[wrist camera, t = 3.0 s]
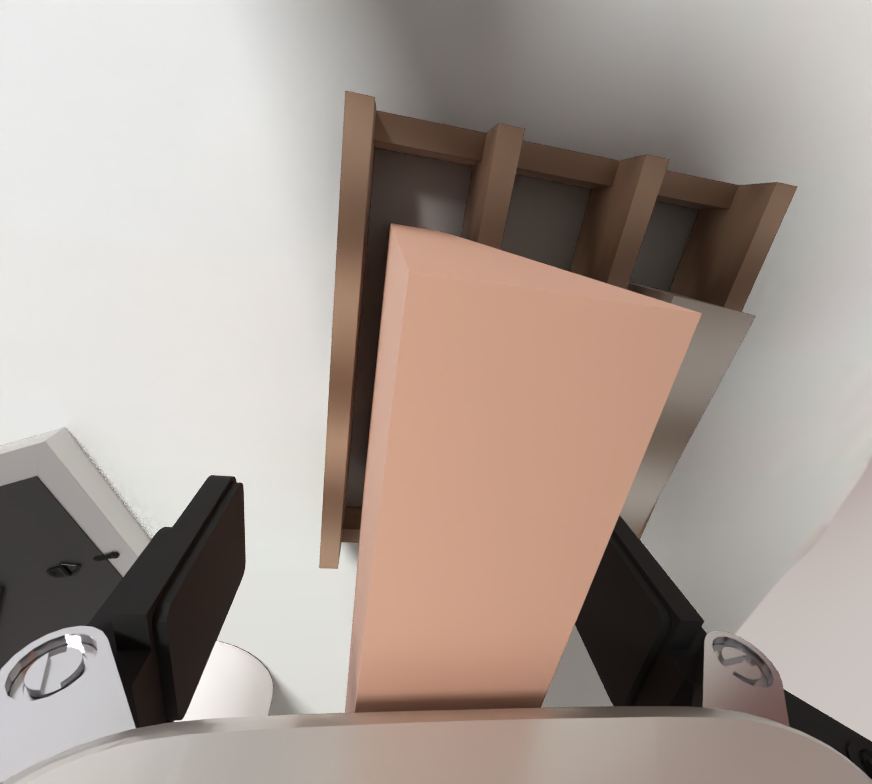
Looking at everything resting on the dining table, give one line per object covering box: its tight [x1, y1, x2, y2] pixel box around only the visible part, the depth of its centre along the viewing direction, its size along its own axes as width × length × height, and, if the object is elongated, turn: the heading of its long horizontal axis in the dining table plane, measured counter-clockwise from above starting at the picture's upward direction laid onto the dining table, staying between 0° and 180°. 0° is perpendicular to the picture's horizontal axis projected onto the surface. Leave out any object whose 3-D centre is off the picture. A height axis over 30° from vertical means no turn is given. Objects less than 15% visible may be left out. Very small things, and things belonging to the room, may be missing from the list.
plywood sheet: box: [345, 223, 702, 713], centre depth 14 cm, size 14×2×18 cm, turn 171°
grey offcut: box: [620, 282, 755, 535], centre depth 22 cm, size 12×4×6 cm, turn 167°
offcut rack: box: [319, 91, 797, 569], centre depth 21 cm, size 22×18×4 cm
